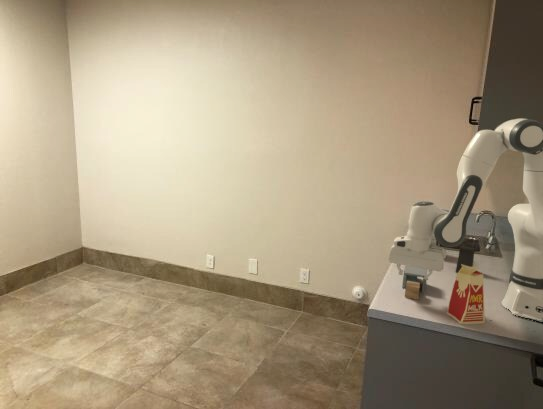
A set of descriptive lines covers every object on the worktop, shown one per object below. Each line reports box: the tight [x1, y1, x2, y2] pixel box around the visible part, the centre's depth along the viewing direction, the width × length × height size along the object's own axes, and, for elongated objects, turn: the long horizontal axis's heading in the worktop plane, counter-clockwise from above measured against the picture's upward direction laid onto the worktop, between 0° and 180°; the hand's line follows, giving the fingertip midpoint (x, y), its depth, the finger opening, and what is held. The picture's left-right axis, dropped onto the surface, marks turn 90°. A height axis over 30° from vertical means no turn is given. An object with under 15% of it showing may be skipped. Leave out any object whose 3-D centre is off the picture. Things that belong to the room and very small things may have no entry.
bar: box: [407, 275, 418, 283], centre depth 166 cm, size 18×4×4 cm, turn 159°
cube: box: [404, 281, 421, 300], centre depth 155 cm, size 5×5×5 cm
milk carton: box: [446, 264, 486, 325], centre depth 138 cm, size 9×9×20 cm
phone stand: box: [455, 244, 476, 274], centre depth 183 cm, size 9×6×12 cm, turn 146°
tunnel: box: [401, 265, 429, 293], centre depth 165 cm, size 9×9×7 cm
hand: (413, 277), depth 154 cm, fingers open, 8 cm apart
